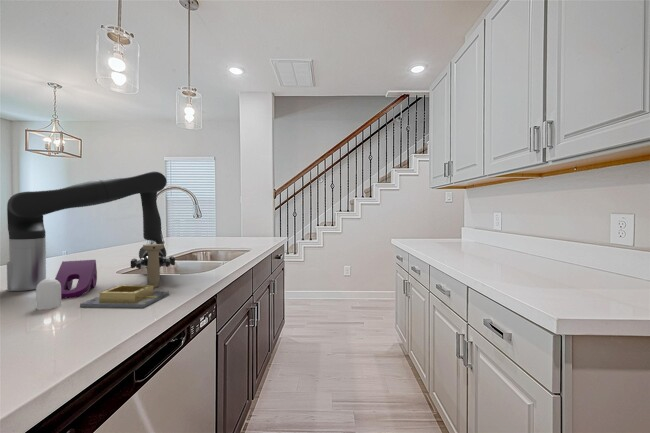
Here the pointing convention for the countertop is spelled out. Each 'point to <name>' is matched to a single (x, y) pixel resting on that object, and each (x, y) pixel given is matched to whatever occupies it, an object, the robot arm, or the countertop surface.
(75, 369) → the countertop surface
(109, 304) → the plate
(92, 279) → the mounting bracket
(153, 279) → the handle
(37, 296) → the capsule
